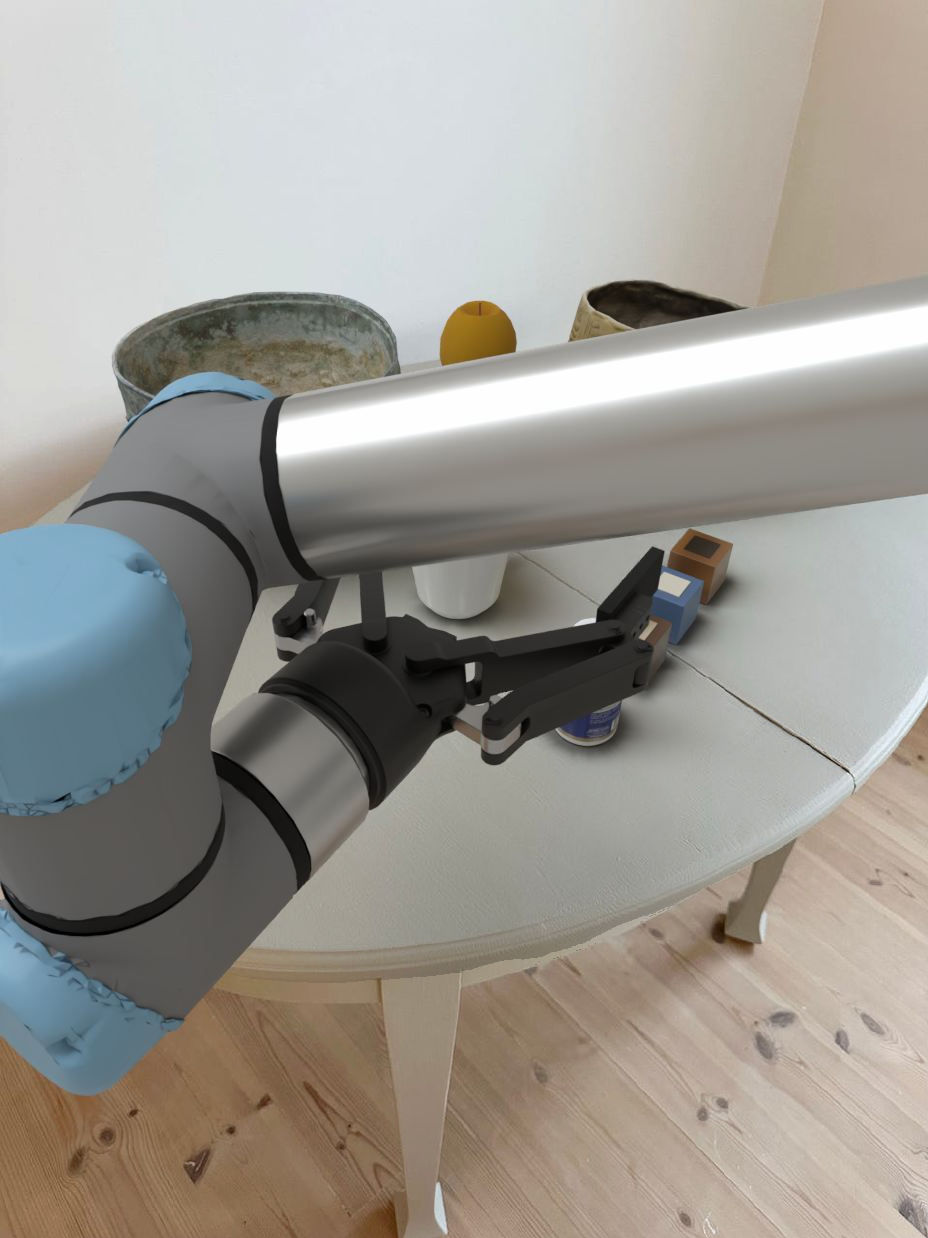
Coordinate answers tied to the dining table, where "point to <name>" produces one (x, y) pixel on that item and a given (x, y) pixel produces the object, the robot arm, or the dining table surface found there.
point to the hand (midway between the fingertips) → (549, 528)
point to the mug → (461, 585)
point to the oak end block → (702, 560)
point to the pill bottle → (592, 720)
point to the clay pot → (641, 307)
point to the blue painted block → (677, 601)
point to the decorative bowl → (257, 345)
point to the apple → (476, 333)
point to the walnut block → (657, 640)
